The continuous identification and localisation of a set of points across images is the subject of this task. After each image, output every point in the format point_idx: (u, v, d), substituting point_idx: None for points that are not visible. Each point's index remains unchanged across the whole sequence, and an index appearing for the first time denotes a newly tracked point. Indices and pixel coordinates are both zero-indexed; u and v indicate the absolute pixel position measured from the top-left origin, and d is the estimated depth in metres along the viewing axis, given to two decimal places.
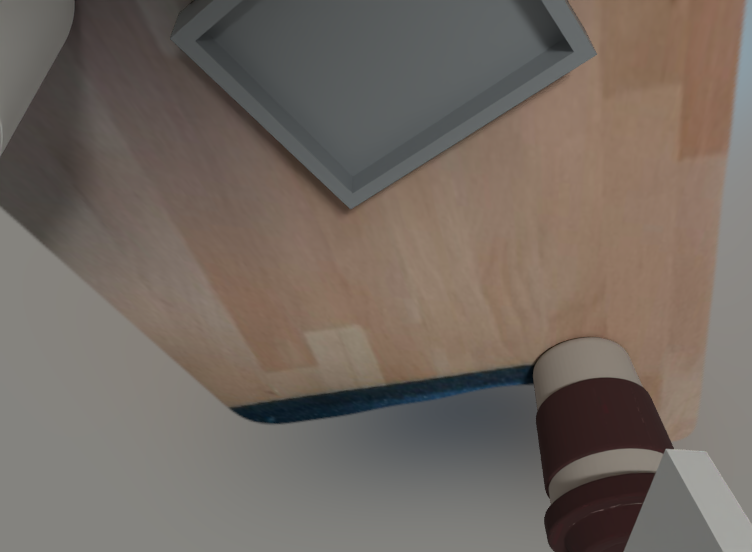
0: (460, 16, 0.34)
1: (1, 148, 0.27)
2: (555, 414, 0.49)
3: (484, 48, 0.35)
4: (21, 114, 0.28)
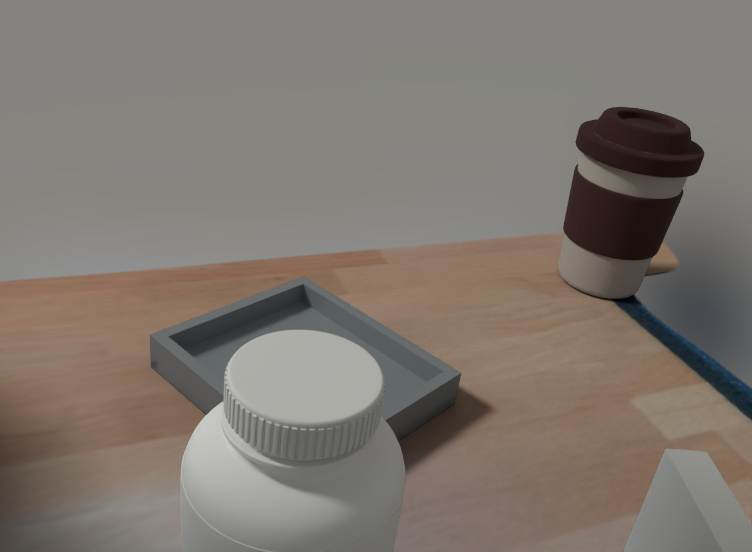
0: None
1: None
2: (607, 237, 0.59)
3: (313, 330, 0.51)
4: None
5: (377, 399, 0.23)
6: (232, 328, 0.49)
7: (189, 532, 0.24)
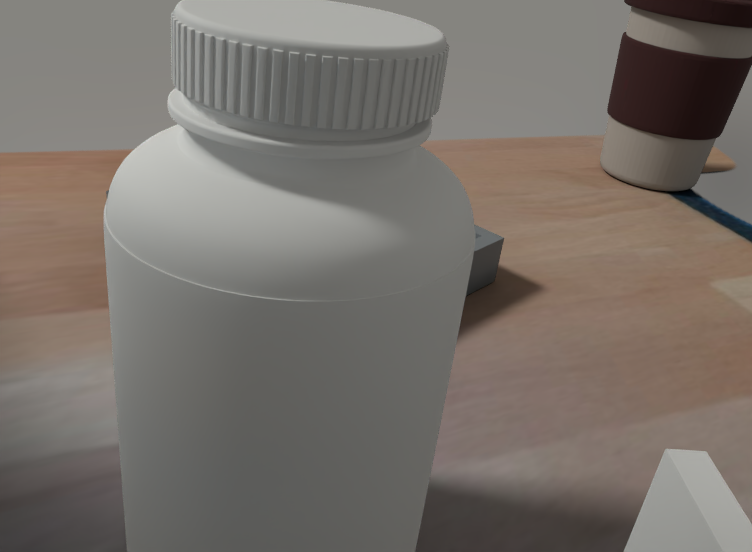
0: None
1: None
2: (664, 110, 0.49)
3: None
4: None
5: (438, 44, 0.13)
6: None
7: (116, 299, 0.14)
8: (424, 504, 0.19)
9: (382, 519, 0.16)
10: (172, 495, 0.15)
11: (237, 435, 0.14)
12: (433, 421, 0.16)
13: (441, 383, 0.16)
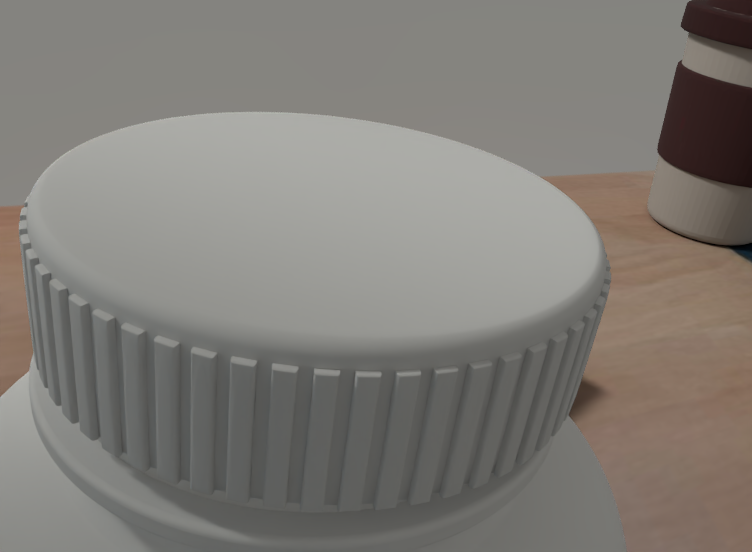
0: None
1: None
2: (730, 154, 0.42)
3: None
4: None
5: (602, 271, 0.06)
6: None
7: None
8: None
9: None
10: None
11: None
12: None
13: None
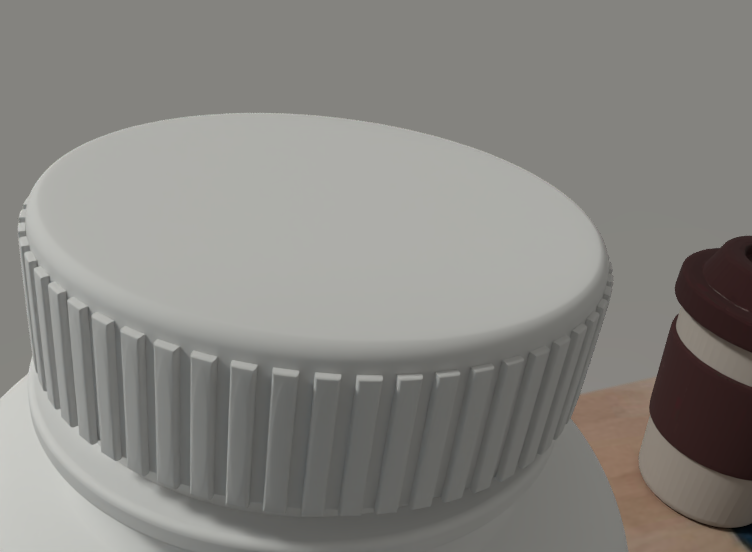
0: None
1: None
2: (733, 450, 0.37)
3: None
4: None
5: (605, 274, 0.06)
6: None
7: None
8: None
9: None
10: None
11: None
12: None
13: None
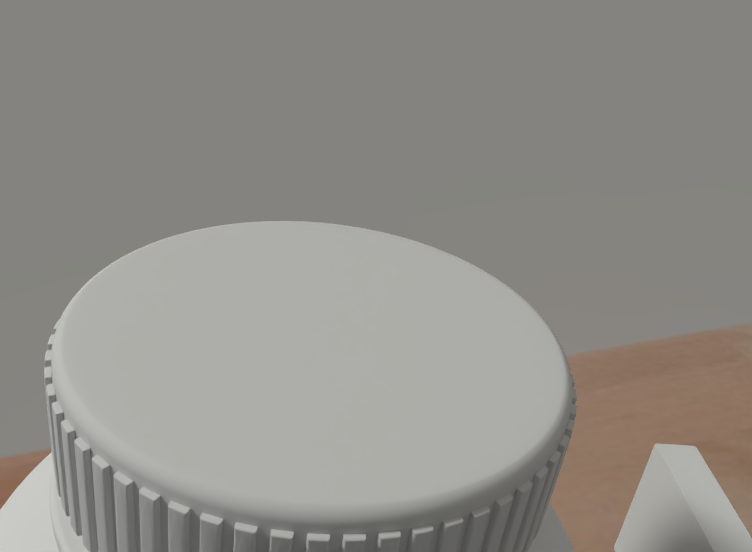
0: None
1: None
2: None
3: None
4: None
5: (567, 411, 0.07)
6: None
7: None
8: None
9: None
10: None
11: None
12: None
13: None
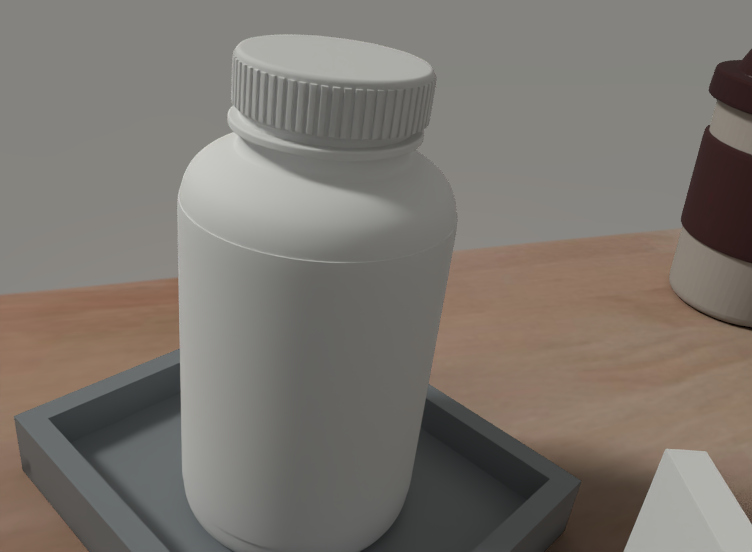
0: None
1: None
2: None
3: None
4: None
5: (428, 77, 0.18)
6: (174, 393, 0.29)
7: (188, 264, 0.19)
8: (418, 434, 0.23)
9: (385, 437, 0.21)
10: (226, 414, 0.20)
11: (278, 364, 0.18)
12: (425, 362, 0.21)
13: (431, 332, 0.20)
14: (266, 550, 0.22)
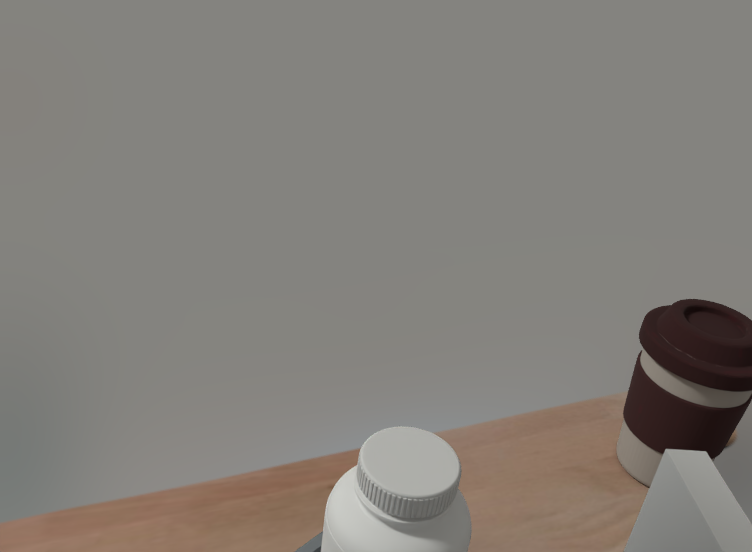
0: None
1: None
2: (674, 440, 0.56)
3: None
4: None
5: (457, 477, 0.36)
6: None
7: None
8: None
9: None
10: None
11: None
12: None
13: None
14: None
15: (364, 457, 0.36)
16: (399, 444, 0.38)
